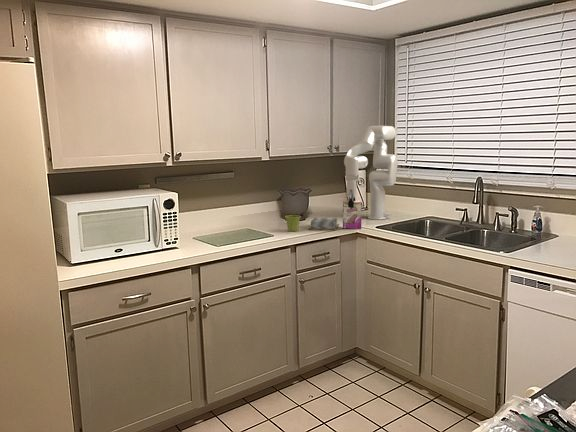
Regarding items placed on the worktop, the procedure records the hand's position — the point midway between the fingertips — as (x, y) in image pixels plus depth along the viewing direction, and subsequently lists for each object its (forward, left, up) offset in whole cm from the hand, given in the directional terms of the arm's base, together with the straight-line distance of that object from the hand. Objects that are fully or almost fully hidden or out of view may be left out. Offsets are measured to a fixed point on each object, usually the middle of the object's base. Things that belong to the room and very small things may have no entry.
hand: (351, 206), depth 290 cm
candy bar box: (0, 0, -14) cm, 14 cm away
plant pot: (+34, +11, -14) cm, 38 cm away
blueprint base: (+17, 0, -13) cm, 22 cm away
